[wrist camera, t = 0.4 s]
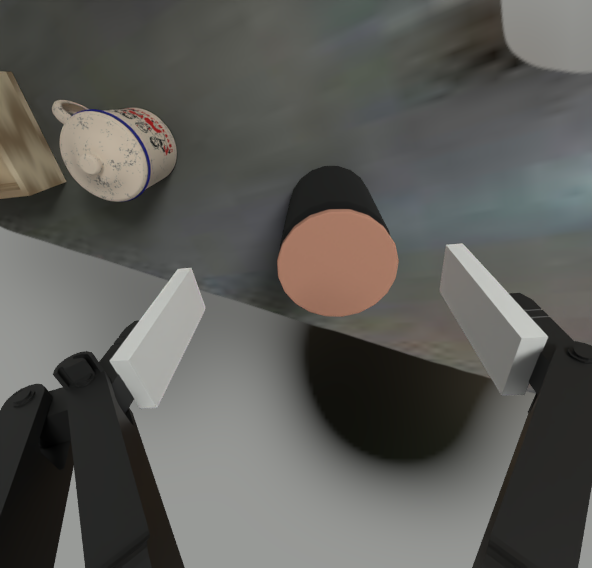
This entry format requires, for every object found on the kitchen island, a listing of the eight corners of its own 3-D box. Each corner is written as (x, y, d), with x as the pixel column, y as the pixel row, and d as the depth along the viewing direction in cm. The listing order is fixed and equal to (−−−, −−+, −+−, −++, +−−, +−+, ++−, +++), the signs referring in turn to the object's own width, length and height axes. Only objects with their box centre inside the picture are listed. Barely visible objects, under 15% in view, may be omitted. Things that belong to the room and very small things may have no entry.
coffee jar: (297, 245, 46) (288, 322, 31) (283, 171, 40) (264, 221, 25) (370, 234, 44) (399, 311, 29) (366, 156, 39) (399, 201, 24)
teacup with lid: (193, 143, 39) (151, 161, 29) (159, 196, 43) (112, 228, 33) (102, 66, 35) (20, 58, 25) (74, 132, 39) (-6, 147, 29)
